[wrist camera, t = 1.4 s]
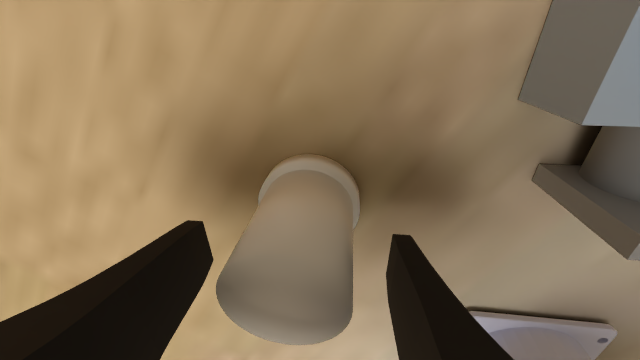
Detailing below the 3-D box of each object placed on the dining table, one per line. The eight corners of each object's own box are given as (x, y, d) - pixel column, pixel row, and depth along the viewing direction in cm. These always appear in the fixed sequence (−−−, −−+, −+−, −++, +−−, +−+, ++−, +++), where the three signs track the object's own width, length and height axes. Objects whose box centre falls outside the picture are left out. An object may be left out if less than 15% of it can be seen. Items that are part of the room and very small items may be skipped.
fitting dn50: (356, 238, 14) (357, 357, 9) (269, 231, 15) (222, 341, 9) (363, 156, 12) (369, 252, 7) (259, 151, 12) (189, 238, 7)
